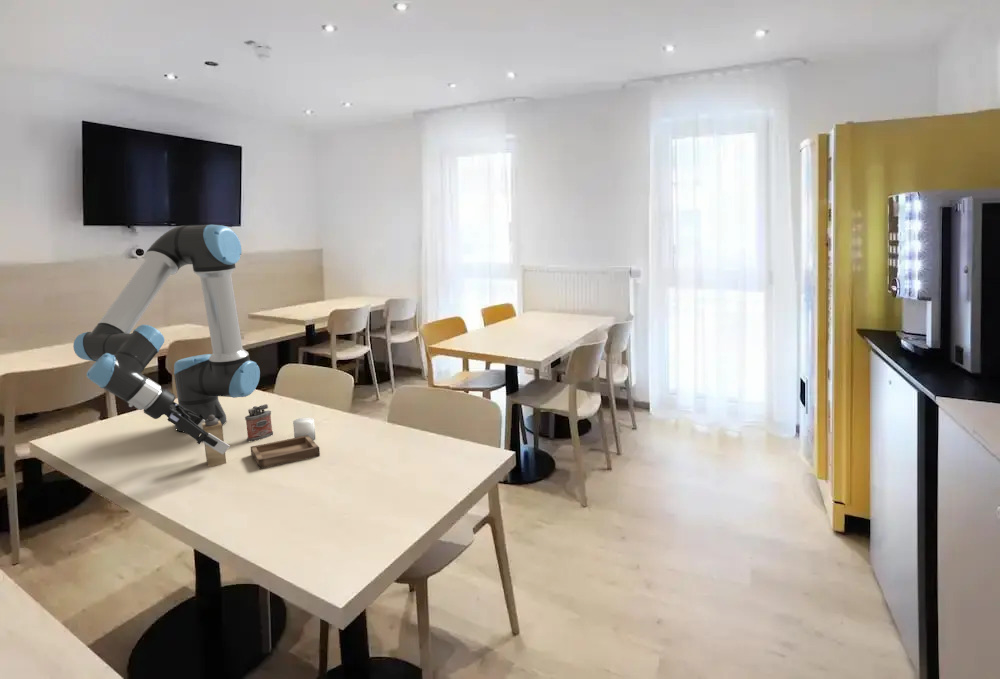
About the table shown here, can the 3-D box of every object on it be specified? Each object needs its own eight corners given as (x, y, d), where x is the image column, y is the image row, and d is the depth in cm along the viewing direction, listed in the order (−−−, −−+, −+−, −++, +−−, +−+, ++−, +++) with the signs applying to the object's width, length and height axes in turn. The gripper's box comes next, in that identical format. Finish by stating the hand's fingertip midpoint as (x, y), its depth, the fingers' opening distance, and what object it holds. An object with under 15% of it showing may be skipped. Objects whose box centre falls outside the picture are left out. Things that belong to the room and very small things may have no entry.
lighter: (251, 442, 173) (247, 410, 171) (245, 440, 175) (241, 408, 173) (275, 434, 180) (272, 403, 178) (269, 432, 182) (266, 402, 180)
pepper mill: (206, 461, 159) (201, 414, 157) (224, 458, 161) (218, 411, 159) (208, 466, 155) (202, 418, 153) (226, 463, 158) (220, 415, 155)
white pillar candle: (292, 438, 176) (291, 419, 175) (312, 434, 179) (311, 416, 178) (297, 444, 171) (295, 425, 170) (317, 440, 174) (316, 421, 173)
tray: (251, 455, 163) (250, 446, 163) (308, 443, 172) (308, 435, 171) (259, 469, 153) (258, 460, 153) (319, 455, 162) (319, 447, 161)
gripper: (140, 399, 157) (207, 440, 168) (142, 424, 137) (219, 468, 147) (160, 378, 159) (225, 419, 170) (165, 398, 138) (239, 444, 149)
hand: (222, 442), depth 158 cm, fingers open, 13 cm apart
